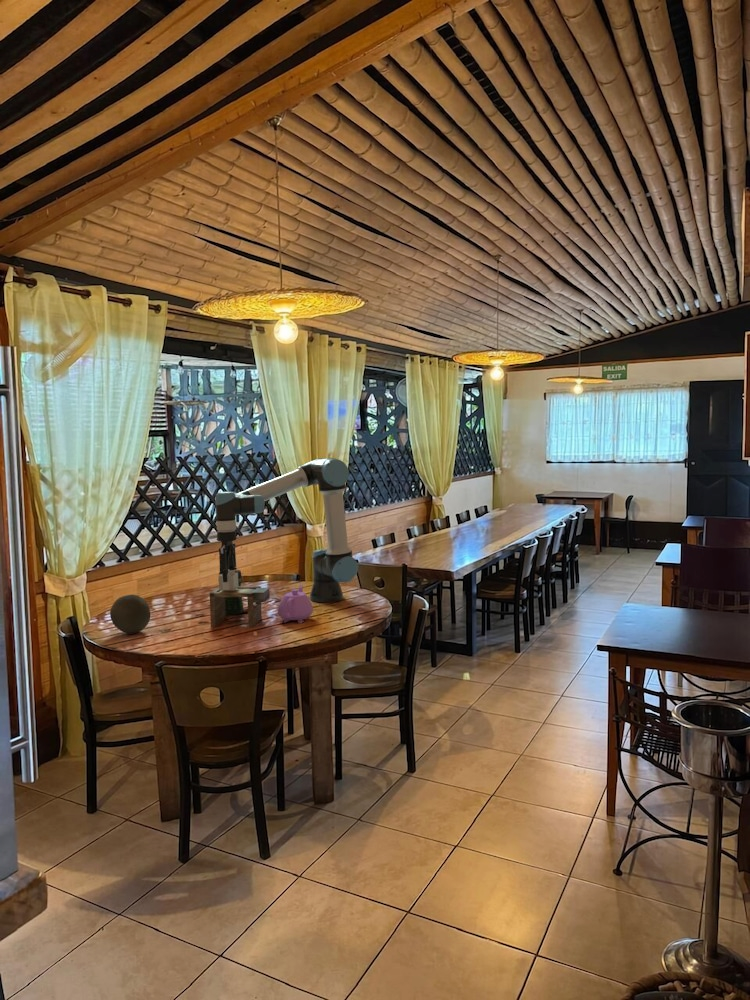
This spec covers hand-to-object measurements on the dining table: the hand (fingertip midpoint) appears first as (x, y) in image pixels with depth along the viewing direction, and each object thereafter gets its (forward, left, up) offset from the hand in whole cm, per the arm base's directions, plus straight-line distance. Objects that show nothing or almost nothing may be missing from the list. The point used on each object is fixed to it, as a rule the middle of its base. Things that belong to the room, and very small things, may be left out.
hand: (229, 587), depth 270 cm
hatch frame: (-3, 0, -14) cm, 15 cm away
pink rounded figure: (-26, -6, -14) cm, 30 cm away
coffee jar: (+4, -15, -14) cm, 21 cm away
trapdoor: (-6, 0, -5) cm, 8 cm away
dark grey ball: (+33, +17, -14) cm, 40 cm away
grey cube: (0, 0, 0) cm, 0 cm away
